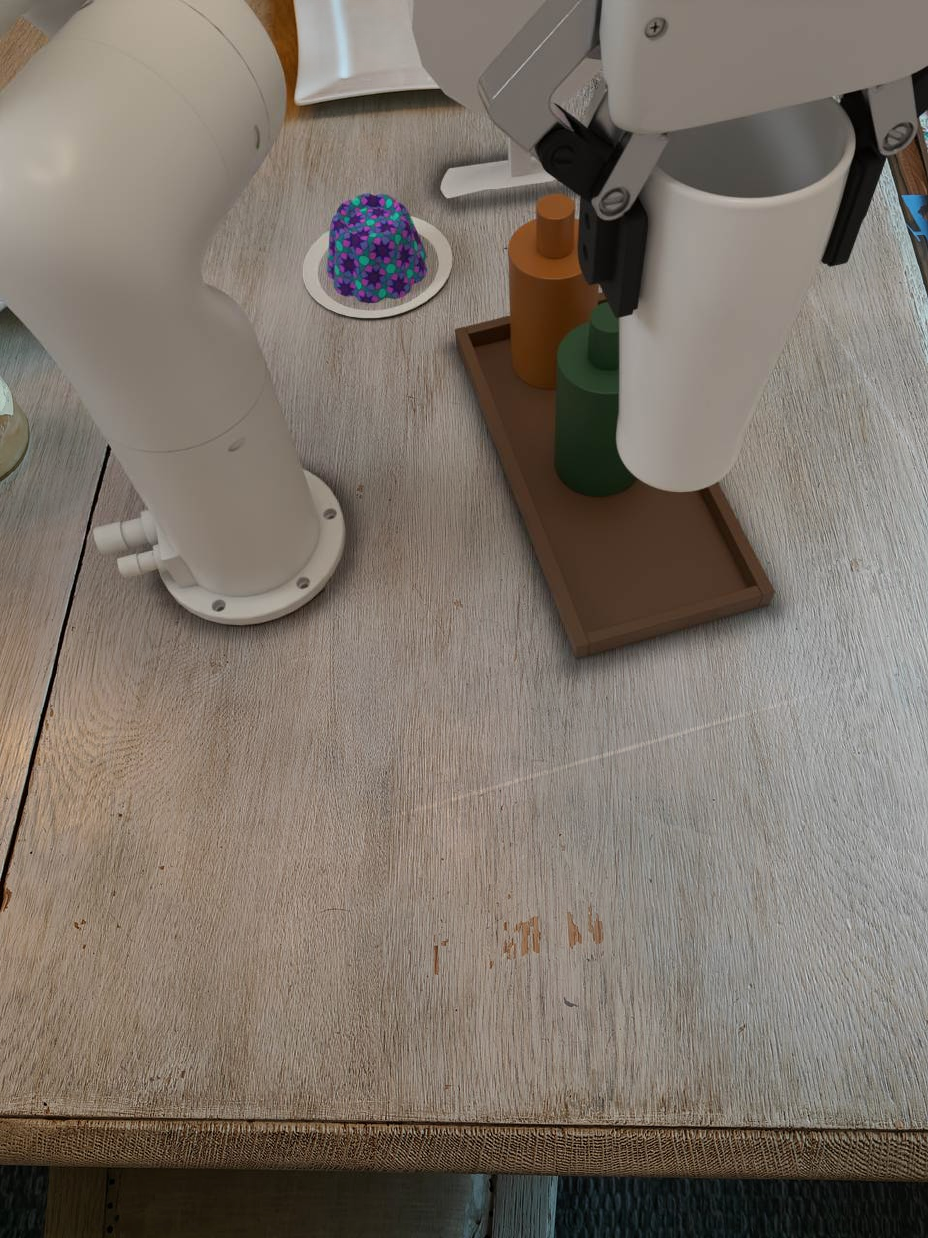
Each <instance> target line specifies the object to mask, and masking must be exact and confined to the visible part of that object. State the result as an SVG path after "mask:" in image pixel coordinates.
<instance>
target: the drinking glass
mask: <svg viewBox="0 0 928 1238" xmlns="http://www.w3.org/2000/svg"><path fill="white" fill-rule="evenodd" d="M855 144H856V139H855V131H854V128H853V124H852V122H851V120H850V118H849V116H848V115H847V113H846V111H845V110H844V109H843V108H842V106H841V105H840V104H839V102H838V101H837V100H836V99H835V98H834V96H833V97H828V98H824V99H820V100H815V101H811V102H807V103H802V104H798V105H794V106H789V107H785V108H781V109H776V110H772V111H767V112H762V113H758V114H753V115H749V116H744V117H740V118H735V119H731V120H726V121H722V122H717V123H712V124H708V125H703V126H698V127H694V128H689V129H684V130H679V131H676V132H675V133H674V135H673V137H672V138H671V140H670V142H669V144H668V145H667V147H666V149H665V150H664V152H663V154H662V156H661V157H660V159H659V161H658V162H657V164H656V166H655V167H654V169H653V171H652V173H651V174H650V176H649V178H648V179H647V181H646V183H645V184H644V186H643V188H642V190H641V191H640V193H639V195H638V198H639V200H640V202H641V204H642V206H643V207H644V209H645V211H646V213H647V216H648V233H647V240H646V248H645V256H644V264H643V271H642V279H641V287H640V295H639V302H638V308H637V309H636V310H634V311H633V314H632V315H629V316H625V317H620V318H619V411H618V420H617V428H616V445H617V450H618V453H619V456H620V458H621V460H622V462H623V463H624V465H625V466H626V468H627V469H628V470H629V471H630V472H631V473H632V474H633V475H634V476H635V477H636V478H638V479H639V480H640V481H642V482H644V483H645V484H647V485H649V486H652V487H654V488H657V489H660V490H665V491H670V492H691V491H697V490H701V489H704V488H707V487H709V486H711V485H713V484H715V483H717V482H718V483H719V482H720V481H722V480H723V479H724V478H725V477H726V476H728V474H729V473H730V472H731V471H732V470H733V469H734V467H735V466H736V464H737V462H738V460H739V458H740V455H741V452H742V449H743V446H744V443H745V440H746V437H747V433H748V431H749V428H750V426H751V424H752V421H753V419H754V417H755V414H756V412H757V410H758V407H759V405H760V402H761V401H762V398H763V395H764V393H765V391H766V389H767V386H768V384H769V382H770V379H771V378H772V375H773V373H774V371H775V369H776V366H777V364H778V362H779V360H780V358H781V355H782V353H783V351H784V348H785V346H786V344H787V342H788V339H789V338H790V336H791V333H792V330H793V328H794V326H795V324H796V322H797V319H798V317H799V316H800V314H801V311H802V308H803V306H804V304H805V302H806V299H807V297H808V294H809V292H810V290H811V288H812V286H813V283H814V281H815V278H816V276H817V273H818V271H819V268H820V266H821V263H822V258H823V255H824V253H825V250H826V247H827V244H828V241H829V239H830V236H831V233H832V230H833V227H834V223H835V220H836V217H837V214H838V210H839V207H840V204H841V200H842V197H843V193H844V189H845V186H846V182H847V178H848V174H849V170H850V166H851V163H852V159H853V156H854V152H855Z"/></svg>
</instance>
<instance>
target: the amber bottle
mask: <svg viewBox="0 0 928 1238" xmlns="http://www.w3.org/2000/svg"><path fill="white" fill-rule="evenodd" d="M516 229H517V230H515V231H514V233H513V234H512V235H511V237H510V239H509V242H508V245H507V258H508V259H507V260H508V291H509V294H508V295H509V316H510V328H511V360H512V366H513V369H514V370H515V372H516V374H517V375H518V376H519V377H520V378H521V379H522V380H523V381H525V382H526V383H528V384H530V385H532V386H535V387H538V388H542V389H556V372H557V352H558V348H559V345H560V343H561V342H562V340H563V339H564V337H565V336H566V335H567V334H568V333H569V332H570V331H572V330H573V329H574V328H576V327H578V326H580V325H582V324H584V323H587V322H590V314H591V312H592V310H593V309H594V308H595V307H596V306H598V294H599V293H600V285H599V284H595V285H590V286H589V285H588V284H587V282H586V280H585V278H584V276H583V274H582V271H581V269H580V265H579V260H578V229H579V218H576V203H575V202H574V200H573V199H572V198H571V197H570V196H569V195H566V194H562V193H550V194H547V195H544V196H542V197H541V198H540V199H539V200H538V201H537V203H536V206H535V218H534V219H532V220H530V221H528V222H526V223H524V224H522V225H521V226H520V227H518V228H516Z"/></svg>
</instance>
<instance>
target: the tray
mask: <svg viewBox="0 0 928 1238" xmlns="http://www.w3.org/2000/svg"><path fill="white" fill-rule="evenodd" d="M606 302H607V299H606V297H605V295H604V293H603V291H601V292H599V294H598V305H600V304H602V303H606ZM454 334H455V335H454V337H455V345H456V347H457V350H458V353H459V355H460V358H461V361H462V363H463V366H464V368H465V371H466V374H467V376H468V379H469V381H470V383H471V387H472V389H473V392H474V395H475V398H476V400H477V402H478V405H479V408H480V411H481V414H482V416H483V418H484V421H485V424H486V426H487V429H488V432H489V434H490V437H491V440H492V442H493V445H494V448H495V450H496V453H497V455H498V458H499V461H500V463H501V466H502V468H503V471H504V473H505V477H506V479H507V481H508V484H509V487H510V490H511V493H512V495H513V498H514V501H515V503H516V505H517V508H518V510H519V513H520V515H521V519H522V522H523V524H524V526H525V530H526V532H527V534H528V537H529V540H530V543H531V545H532V548H533V550H534V553H535V555H536V558H537V560H538V563H539V566H540V569H541V572H542V574H543V576H544V579H545V582H546V585H547V587H548V589H549V592H550V595H551V598H552V600H553V603H554V605H555V608H556V611H557V614H558V616H559V619H560V621H561V624H562V627H563V630H564V632H565V635H566V637H567V640H568V642H569V645H570V648H571V650H572V653H573V656H574V659H575V660H578V659H582V658H585V657H589V656H592V655H596V654H600V653H604V652H607V651H610V650H614V649H617V648H621V647H624V646H628V645H632V644H636V643H638V642H642V641H646V640H649V639H653V638H657V637H660V636H663V635H667V634H671V633H674V632H677V631H681V630H685V629H688V628H692V627H696V626H700V625H702V624H707V623H710V622H715V621H718V620H721V619H724V618H727V617H731V616H734V615H738V614H741V613H745V612H749V611H753V610H756V609H760V608H764V607H766V606H770V605H771V602H772V600H773V598H774V595H775V594H776V593H775V592H776V591H775V589H774V587H773V584H772V583H771V581H770V579H769V577H768V576H767V574H766V572H765V570H764V568H763V566H762V564H761V562H760V560H759V558H758V556H757V555H756V552H755V550H754V548H753V547H752V544H751V542H750V541H749V539H748V537H747V536H746V532H745V531H744V529H743V527H742V525H741V524H740V522H739V520H738V518H737V516H736V514H735V512H734V510H733V508H732V506H731V504H730V502H729V500H728V499H727V497H726V495H725V493H724V491H723V489H722V487H721V485H720V483H719V481H718V482H717V483H715V484H713V485H711V486H709V487H707V488H704V489H701V490H697V491H691V492H670V491H665V490H660V489H657V488H654V487H652V486H649V485H647V484H645V483H644V482H642V481H640V480H639V479H637V480H636V481H635V482H634V483H633V484H632V485H631V486H630V487H629V488H627V489H626V490H624V491H622V492H620V493H618V494H615V495H611V496H604V497H594V496H587V495H583V494H580V493H578V492H576V491H574V490H572V489H570V488H569V487H568V486H567V485H565V484H564V483H563V482H562V480H561V479H560V478H559V476H558V474H557V472H556V469H555V465H554V448H555V410H556V389H542V388H538V387H535V386H532V385H530V384H528V383H526V382H525V381H523V380H522V379H521V378H520V377H519V376H518V375H517V374H516V372H515V370H514V369H513V366H512V360H511V328H510V315H507V316H502V317H498V318H494V319H490V320H486V321H482V322H479V323H474V324H470V325H466V326H462V327H457V328H455V329H454Z"/></svg>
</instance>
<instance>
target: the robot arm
mask: <svg viewBox="0 0 928 1238" xmlns="http://www.w3.org/2000/svg"><path fill="white" fill-rule="evenodd" d="M21 18H24V19H25V20H26V21H27V22H29V23H30V24H31V25H33V26H34V27H35V28H37V29H38V30H39V31H41V32H42V33H43V34H44V35H46V36H47V37H48V38H49V39H50V40H49V41H48V42H47V43H46V44H45V45H43V46H42V47H41V48H40V49H38V50H37V51H36V52H35V54H34V55H33V56H32V57H31V58H30V59H29V60H28V61H27V62H26V63H25V65H24V66H23V67H21V69H20V70H19V71H18V72H17V74H16V75H15V76H14V77H13V78H12V79H11V80H10V81H9V83H7V84H6V86H5V87H4V88H3V89H2V90H1V91H0V300H1V301H2V303H3V304H4V305H6V307H7V308H8V309H9V310H10V311H11V312H12V313H13V314H14V315H15V316H16V317H17V318H18V319H19V321H20V322H21V323H22V324H23V325H24V326H25V327H26V328H27V329H28V330H29V332H31V334H32V335H33V336H34V337H35V338H36V340H37V341H38V342H39V343H40V345H42V347H43V349H45V351H46V352H47V353H48V354H49V356H50V357H51V358H52V360H53V361H54V362H55V364H56V365H57V366H58V368H59V370H60V371H61V372H62V374H63V375H64V377H65V378H66V379H67V381H68V382H69V384H70V386H71V387H72V388H73V391H74V392H75V393H76V395H77V397H78V398H79V400H80V401H81V403H82V404H83V406H84V408H85V410H86V411H87V412H88V414H89V416H90V418H91V419H92V421H93V423H94V424H95V425H96V427H97V428H98V430H99V431H100V433H101V435H102V436H103V438H104V439H105V441H106V442H107V444H108V446H109V448H110V449H111V451H112V452H113V454H114V456H115V458H116V459H117V461H118V462H119V464H120V466H121V467H122V469H123V471H124V472H125V474H126V476H127V477H128V479H129V480H130V481H131V484H132V485H133V487H134V489H135V491H136V492H137V494H138V495H139V497H140V499H141V500H142V502H143V504H144V505H145V507H146V508H147V509H144V510H141V511H140V517H137V518H133V519H129V520H125V521H122V520H118V521H115V522H111V523H107V524H104V525H99V526H96V527H94V528H93V539H94V542H95V545H96V548H97V551H98V552H99V554H100V555H101V556H102V557H105V556H109V555H112V554H113V555H114V554H117V553H120V552H126V551H129V550H131V549H132V548H135V547H138V546H142V545H147V544H149V545H150V547H151V548H152V550H148V551H144V552H141V553H139V552H138V553H137V552H136V553H132V554H129V555H125V556H122V557H117V559H116V564H117V569H118V572H119V574H120V576H121V578H123V579H124V580H125V579H129V578H133V577H138V576H141V575H144V574H145V573H149V572H152V571H155V570H158V572H159V575H160V578H161V579H160V580H161V581H162V582H163V584H164V586H165V587H166V589H167V590H168V592H169V593H170V595H171V596H172V597H173V598H174V600H175V601H176V602H177V603H178V604H179V605H180V606H182V607H183V608H184V609H186V610H187V611H188V612H190V613H191V614H192V615H194V616H196V617H199V618H202V620H203V619H204V620H205V621H209V622H214V623H217V624H220V625H231V626H232V625H233V626H247V625H255V624H256V625H257V624H262V623H267V622H269V621H273V620H277V619H279V618H281V617H284V616H286V615H288V614H291V613H293V612H295V611H297V610H298V609H299V608H301V607H303V606H304V605H306V604H307V603H309V602H310V601H311V600H312V599H314V597H316V596H317V595H318V594H319V593H320V592H322V590H324V588H325V587H326V584H327V583H328V582H329V580H330V579H331V578H332V576H333V575H334V573H335V571H336V569H337V567H338V566H339V563H340V561H341V560H342V556H343V553H344V548H345V545H346V523H345V518H344V514H343V510H342V508H341V505H340V503H339V502H340V501H339V500H338V499H337V497H336V495H335V494H334V492H333V491H332V489H331V488H330V487H329V486H328V485H327V484H326V483H325V482H324V481H323V480H322V479H321V478H320V477H318V476H316V475H315V473H312V472H311V471H309V470H307V469H305V468H303V465H302V463H301V460H300V457H299V454H298V452H297V448H296V445H295V443H294V439H293V437H292V434H291V430H290V428H289V425H288V422H287V419H286V416H285V413H284V410H283V407H282V404H281V402H280V399H279V396H278V393H277V390H276V387H275V384H274V381H273V378H272V375H271V372H270V369H269V367H268V364H267V361H266V358H265V355H264V353H263V350H262V347H261V344H260V341H259V339H258V336H257V334H256V331H255V329H254V326H253V324H252V322H251V321H250V319H249V317H248V315H247V313H246V312H245V310H244V309H243V308H242V307H241V305H240V304H239V303H238V302H237V301H236V300H235V299H234V298H233V297H232V296H230V294H228V293H226V292H225V291H224V290H221V289H219V288H218V287H216V286H214V285H212V284H209V283H207V282H205V280H204V277H203V263H204V260H205V257H206V253H207V251H208V249H209V247H210V245H211V243H212V241H213V240H214V238H215V237H216V235H217V233H218V231H219V230H220V229H221V227H222V226H223V225H224V223H225V221H226V219H227V217H228V216H229V213H230V212H231V210H232V208H233V207H234V206H235V204H236V202H238V199H239V198H240V197H241V195H242V194H243V192H244V191H245V189H246V188H247V186H248V185H249V184H250V182H251V180H252V179H253V177H254V176H255V174H256V173H257V172H258V170H259V169H260V168H261V166H262V165H263V163H264V161H265V160H266V158H267V157H268V155H269V154H270V152H271V150H272V148H273V147H274V145H275V143H276V141H277V140H278V137H279V135H280V133H281V130H282V128H283V125H284V120H285V116H286V112H287V103H288V99H287V97H288V93H287V83H286V77H285V72H284V69H283V66H282V62H281V60H280V56H279V55H278V51H277V49H276V47H275V45H274V43H273V41H272V39H271V37H270V35H269V34H268V32H267V30H266V28H265V27H264V25H263V24H262V22H261V21H260V19H259V18H258V17H257V15H256V14H255V11H253V9H252V8H251V7H250V5H249V4H248V3H247V1H246V0H0V40H1V39H2V38H3V37H4V36H5V35H6V34H7V32H8V31H9V30H11V28H12V27H13V26H14V25H15V24H16V23H17V22H18V21H19V20H20V19H21ZM585 58H590V59H597V60H602V68H601V69H602V77H601V80H600V81H599V83H598V85H597V87H596V90H595V92H594V93H593V95H592V97H591V99H590V101H589V103H588V106H587V107H586V110H585V112H584V113H583V115H582V117H581V119H580V120H578V119H577V117H574V116H573V115H572V114H571V113H570V112H568V111H567V110H566V109H565V108H563V107H562V105H561V106H559V105H557V104H555V103H553V102H552V101H550V100H551V96H552V94H553V93H554V92H555V90H556V89H557V88H558V87H559V86H560V84H561V83H562V82H563V81H564V80H565V79H566V78H567V77H568V76H569V75H570V74H571V73H572V72H573V70H574V69H575V68H576V67H577V66H578V65H579V64H580V63H581V62H582V61H583V60H584V59H585ZM477 88H478V94H479V96H480V98H481V100H482V102H483V104H484V107H485V109H486V111H487V113H488V115H489V118H490V119H489V120H490V121H491V122H492V123H493V125H494V126H495V127H497V128H498V129H499V130H500V131H501V132H503V133H504V134H505V135H506V136H507V138H508V137H509V138H511V139H512V140H513V141H514V142H515V143H516V144H518V145H519V146H520V147H521V148H522V149H523V150H524V151H526V152H527V153H528V152H529V153H530V154H531V157H535V158H536V159H537V160H538V161H539V162H540V163H541V164H542V167H543V169H544V170H545V171H546V172H547V173H548V174H550V175H551V176H552V177H554V178H555V180H556V181H558V182H559V183H561V184H562V185H564V187H566V188H568V189H569V190H570V191H572V192H574V193H575V194H576V195H577V196H579V211H578V212H579V213H578V220H579V229H578V260H579V265H580V269H581V271H582V274H583V276H584V278H585V280H586V282H587V284H588V285H589V286H590V285H595V284H599V288H600V289H601V292H603V293H604V295H605V297H606V299H607V302H608V304H609V306H610V308H611V310H612V312H613V314H614V316H615V317H616V318H620V317H625V316H629V315H632V314H633V311H634V310H636V309H637V308H638V302H639V295H640V287H641V279H642V271H643V264H644V256H645V248H646V240H647V233H648V216H647V213H646V211H645V209H644V207H643V206H642V204H641V202H640V200H639V198H638V195H639V193H640V191H641V190H642V188H643V186H644V184H645V183H646V181H647V179H648V178H649V176H650V174H651V173H652V171H653V169H654V167H655V166H656V164H657V162H658V161H659V159H660V157H661V156H662V154H663V152H664V150H665V149H666V147H667V145H668V144H669V142H670V140H671V138H672V137H673V135H674V133H675V132H676V131H679V130H684V129H689V128H694V127H698V126H703V125H708V124H712V123H717V122H722V121H726V120H731V119H735V118H740V117H744V116H749V115H753V114H758V113H762V112H767V111H772V110H776V109H781V108H785V107H789V106H794V105H798V104H802V103H807V102H811V101H815V100H820V99H824V98H828V97H833V98H834V97H837V96H838V99H839V102H838V103H839V104H840V105H841V106H842V108H843V109H844V110H845V111H846V113H847V115H848V116H849V118H850V120H851V122H852V124H853V128H854V131H855V139H856V144H855V152H854V156H853V159H852V163H851V166H850V170H849V174H848V178H847V182H846V186H845V189H844V193H843V197H842V200H841V204H840V207H839V210H838V214H837V217H836V220H835V223H834V227H833V230H832V233H831V236H830V239H829V241H828V244H827V247H826V250H825V253H824V255H823V258H822V261H821V263H822V264H824V265H827V266H828V267H829V268H832V267H836V266H840V265H843V264H847V263H848V262H849V260H850V259H851V258H850V257H851V254H852V251H853V249H854V247H855V243H856V241H857V238H858V235H859V232H860V229H861V227H862V224H863V222H864V220H865V218H866V216H867V214H868V211H869V209H870V206H871V203H872V200H873V197H874V195H875V192H876V189H877V186H878V183H879V180H880V178H881V176H882V172H883V170H884V167H885V164H886V161H887V158H888V157H889V156H890V157H891V156H893V155H897V154H898V153H901V152H902V151H903V150H904V149H906V148H907V147H908V146H909V145H910V144H911V143H912V142H913V140H914V139H915V137H916V135H917V133H918V130H919V123H918V120H919V118H920V117H921V116H922V115H924V114H925V113H926V112H927V111H928V0H546V1H545V2H544V3H543V5H542V6H541V7H540V8H539V9H538V10H537V11H536V13H535V14H534V15H533V16H532V17H531V18H530V19H529V21H528V22H527V23H526V24H525V25H524V26H523V27H522V29H521V30H520V31H519V32H518V33H517V34H516V36H515V37H514V38H513V39H512V40H511V41H510V42H509V44H508V45H507V46H506V47H505V48H504V49H503V50H502V52H501V53H500V54H499V55H498V56H497V57H496V58H495V60H494V61H493V62H492V63H491V64H490V65H489V66H488V68H487V69H486V70H485V71H484V72H483V73H482V75H481V77H480V78H479V81H478V85H477Z"/></svg>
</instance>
